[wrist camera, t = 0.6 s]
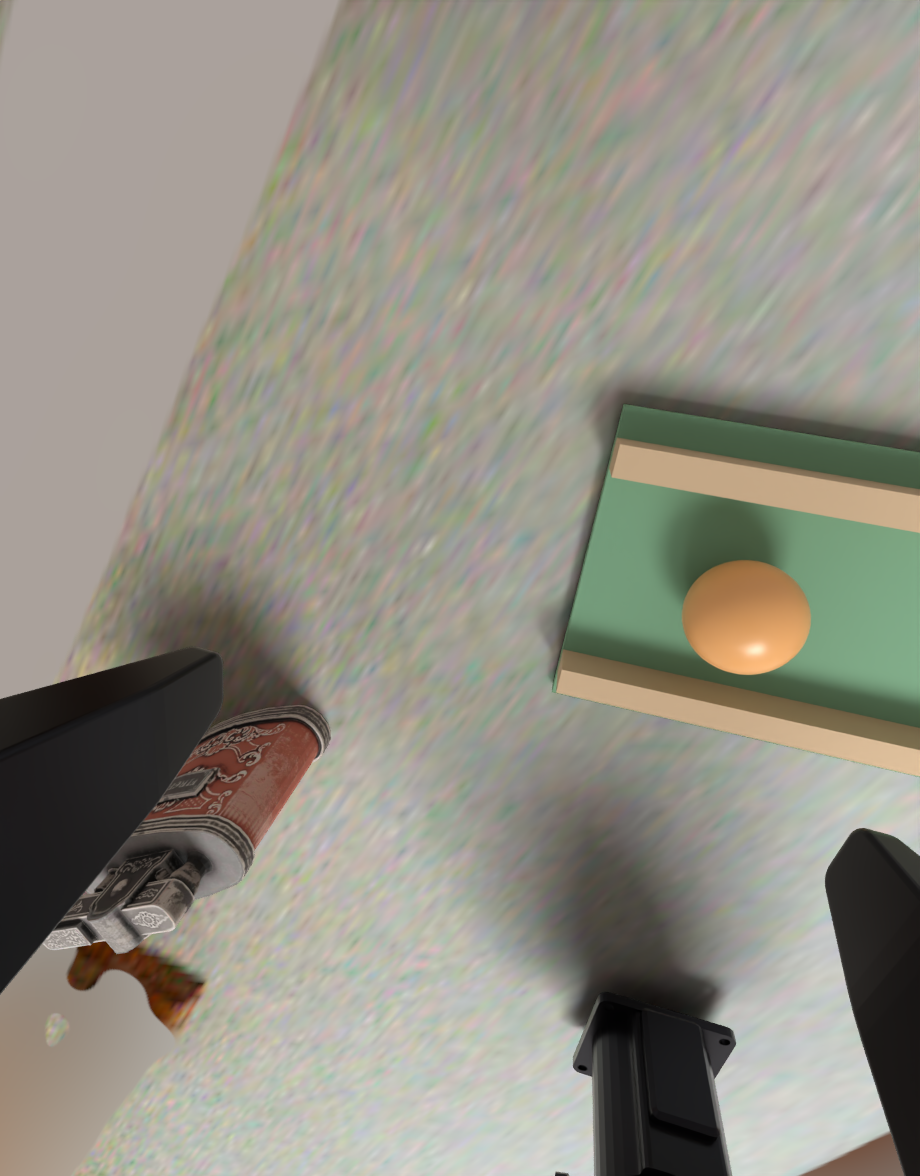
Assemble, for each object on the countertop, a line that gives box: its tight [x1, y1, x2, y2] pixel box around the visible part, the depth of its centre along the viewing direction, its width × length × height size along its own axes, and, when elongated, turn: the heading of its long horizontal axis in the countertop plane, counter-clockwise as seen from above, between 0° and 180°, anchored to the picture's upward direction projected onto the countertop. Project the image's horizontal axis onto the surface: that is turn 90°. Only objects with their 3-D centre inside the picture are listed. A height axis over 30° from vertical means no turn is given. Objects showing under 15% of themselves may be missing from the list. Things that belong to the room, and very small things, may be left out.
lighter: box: [43, 705, 331, 954], centre depth 22 cm, size 8×3×10 cm, turn 114°
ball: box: [682, 560, 811, 675], centre depth 17 cm, size 4×4×4 cm
